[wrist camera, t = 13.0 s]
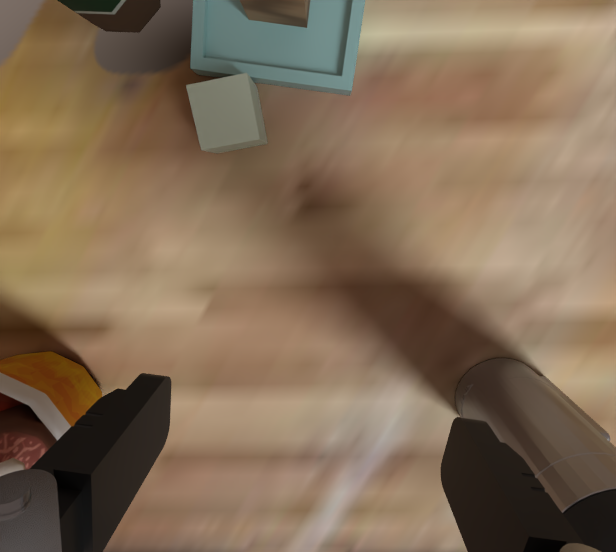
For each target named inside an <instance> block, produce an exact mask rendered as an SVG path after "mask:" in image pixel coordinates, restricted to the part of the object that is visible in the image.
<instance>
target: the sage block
mask: <svg viewBox="0 0 616 552" xmlns="http://www.w3.org/2000/svg"><path fill="white" fill-rule="evenodd" d="M186 88H187V92H188V96H189V101H190V105H191V109H192V113H193V118H194V122H195V126H196V130H197V135H198V139H199V143H200V147H201V150H202V151H207V152H212V153H222V152H228V151H233V150H238V149H244V148H249V147H254V146H260V145H265V144H268V141H267V136H266V131H265V125H264V120H263V115H262V110H261V104H260V99H259V94H258V89H257V86H256V85H255V83H254V82H253V81H252V79H251V78H250V76H249V75H248V74H247V73H243V74H238V75H233V76H228V77H223V78H219V79H214V80H209V81H204V82H199V83H194V84H189V85H186Z"/></svg>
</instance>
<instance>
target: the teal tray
mask: <svg viewBox="0 0 616 552" xmlns="http://www.w3.org/2000/svg"><path fill="white" fill-rule="evenodd" d="M364 5H365V0H310V8H309V17H308V25H307V28H304V27H297V26H290V25H283V24H276V23H268V22H261V21H254V20H249V19H248V17H247V15H246V13H245V11H244V9H243V6H242V4H241V2H240V0H193V16H192V17H193V18H192V38H191V61H190V69H191V70H193V71H194V72H195V73H196V74H198V75H204V76H211V77H218V78H223V77H228V76H233V75H238V74H243V73H247V74H248V75H249V76H250V78H251V79H252V81H253V82H255V83H262V84H269V85H277V86H284V87H291V88H298V89H306V90H313V91H320V92H327V93H335V94H342V95H349V96H350V94H351V91H352V85H353V79H354V72H355V65H356V58H357V52H358V45H359V38H360V32H361V25H362V18H363V12H364Z"/></svg>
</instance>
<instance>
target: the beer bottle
mask: <svg viewBox="0 0 616 552" xmlns="http://www.w3.org/2000/svg"><path fill="white" fill-rule="evenodd" d="M58 1H59V2H61V3H62V4H64V5H65V6H67V7H68V8H70V9H71V10H73V11H74V12H76V13H77V14H79V15H80V16H82V17H84V18H85V19H87V20H88V21H90V22H91V23H93V24H94V25H96V26H98V27H100V28H101V29H103V30H105V31H112V32H140V31H141V30H142V29H143V28H144V26H145V25H146V24H147V23H148V22H149V20H150V19H151V18H152V17H153V16H154V15H155V13H156V12H157V11H158V10H159V8H160V0H58Z"/></svg>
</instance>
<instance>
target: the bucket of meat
mask: <svg viewBox="0 0 616 552" xmlns="http://www.w3.org/2000/svg"><path fill="white" fill-rule="evenodd" d="M101 397H102V392H101V390H100V388H99V387H98V386H97V384H96V383H95V381H94V380H93V379H92V377H91V376H90V375H89V373H88V372H87V371H86V369H85V368H84V367H83V366H81V365H79V364H77V363H75V362H73V361H71V360H69V359H67V358H65V357H63V356H60V355H58V354H56V353H54V352H52V351H48V352H39V353H29V354H20V355H15V356H12V357H9V358H6V359H2V360H0V476H3V475H5V474H8V473H11V472H15V471H19V470H25V469H30V468H31V467H32V466H33V465H34V464H35V463H36V462H37V461H38V460H39V459H40V458H41V457H42V455H43V454H44V453H45V452H46V451H47V450H48V449H49V448H50V447H51V446H52V445H53V444H54V443H55V442H56V441H57V440H58V439H59V438H60V437H61V436H62V435H63V434H64V433H65V432H66V431H67V430H68V429H69V428H70V427H71V426H74V425H75V422H76V421H77V420H78V419H79V418H80V417H81V416H82V415H85V414H86V411H87V410H88V409H89V408H90V407H91V406H92V405H93V404H94V403H95V402H96V401H97V400H98V399H100V398H101Z"/></svg>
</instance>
